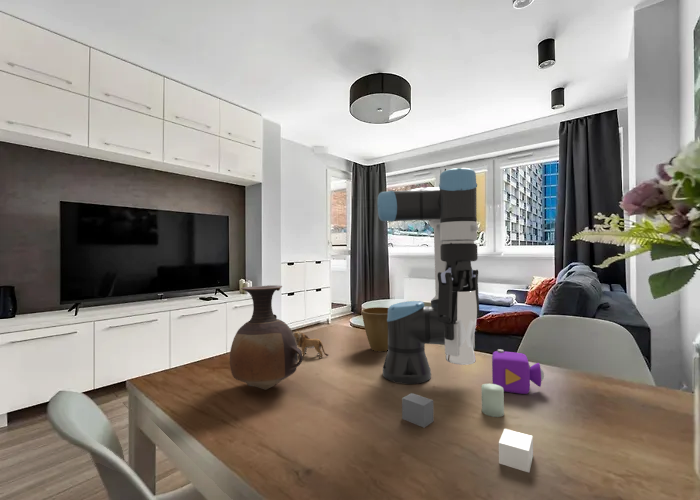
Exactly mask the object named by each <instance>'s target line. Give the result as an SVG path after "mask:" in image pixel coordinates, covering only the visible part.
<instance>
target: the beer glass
mask: <svg viewBox="0 0 700 500" xmlns="http://www.w3.org/2000/svg"><path fill="white" fill-rule="evenodd" d="M470 290H471V291H466V292H458V297H457V318H456V324H458V330H459V356H457V357H456V356H452V355H448V354H445V360H446V361H447V362H448V363H451V364H454V365H461V366H467V365H468V366H469V365H472V364H475V363H476V355H475V354H476V353H475V348H473V340H474V334H475V333H476V327H477V319H478V318H477V302H476V292H475V291H476V290H474V289H470ZM455 292H456V291H452V294H453V293H455ZM444 325H445V324H444Z"/></svg>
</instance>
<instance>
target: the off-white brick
mask: <svg viewBox="0 0 700 500" xmlns="http://www.w3.org/2000/svg"><path fill="white" fill-rule="evenodd" d="M533 436H534V435H530V434H527V433H523V432H519V431H515V430H512V429H509V428H503V431H502V434H501V436H500V438H499V440H498V464H500V465H503V466H507V467H510V468H513V469H516V470H520V471H521V472H522V471H523V472H525V473H530V471H531V466H532V463H533V457H534V439H533V438H534V437H533Z"/></svg>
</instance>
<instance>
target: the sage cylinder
mask: <svg viewBox="0 0 700 500" xmlns="http://www.w3.org/2000/svg"><path fill="white" fill-rule="evenodd" d="M480 387H481V412H482V413H483V414H484V415H485V416H489V417H493V418H501V417H503V416H504V415H505V404H504V403H505V401H504V400H505V397H504V395H505V394H504V392H505V391H504V389H503V387H501V386H499V385H496V384H493V383H483V384H482V385H481V386H480Z"/></svg>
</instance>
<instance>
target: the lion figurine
mask: <svg viewBox="0 0 700 500" xmlns="http://www.w3.org/2000/svg"><path fill="white" fill-rule="evenodd" d="M293 334H294V336H295V339H296V342H297V347H298V348H300V349H301V351H302V354H303V355H304V354H305V353H306V352H307V351H308V350H307V349H313V348H314V350H315V351H316V352H317V353H316V355H317V354H320V355H318V358H319V357H322V358H323V354H324V355H325V356H326V357H328V356H329V354H328V353H326V352H325V348H324V345H323V343H322V341H321V339H319V338H309V336H308V335H307V334H305V333H304V332H301V331H295V332H294V333H293ZM306 354H307V353H306ZM306 354H305V355H306ZM305 355H304V356H305Z"/></svg>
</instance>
